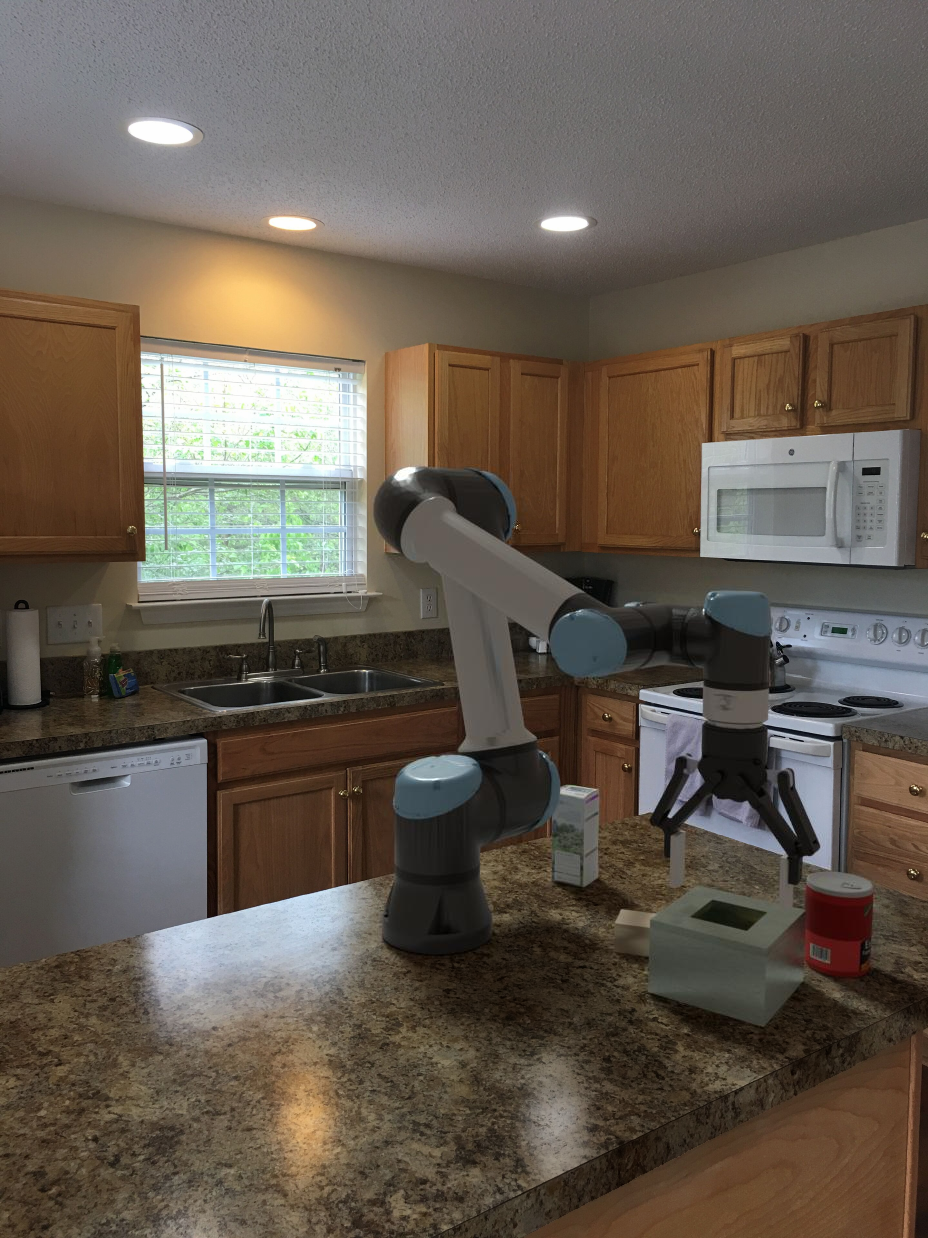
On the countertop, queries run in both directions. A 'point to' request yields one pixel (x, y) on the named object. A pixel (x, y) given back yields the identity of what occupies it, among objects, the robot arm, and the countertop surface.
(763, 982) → the box
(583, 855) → the syrup box
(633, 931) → the block
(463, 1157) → the countertop surface
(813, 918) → the canned food
